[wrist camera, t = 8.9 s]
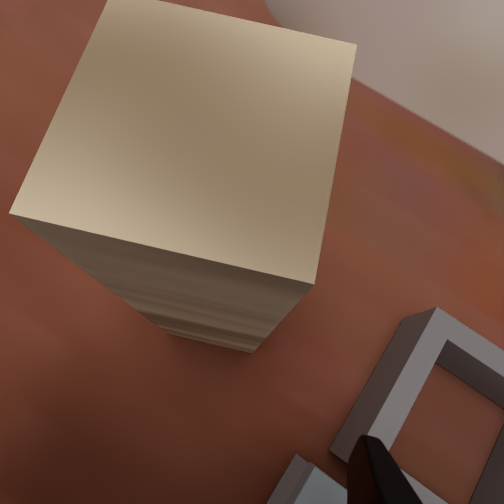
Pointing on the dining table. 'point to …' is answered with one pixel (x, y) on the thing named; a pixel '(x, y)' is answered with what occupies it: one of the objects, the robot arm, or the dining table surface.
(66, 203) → the wooden block
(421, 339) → the toolbox
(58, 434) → the dining table surface
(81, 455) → the dining table surface
